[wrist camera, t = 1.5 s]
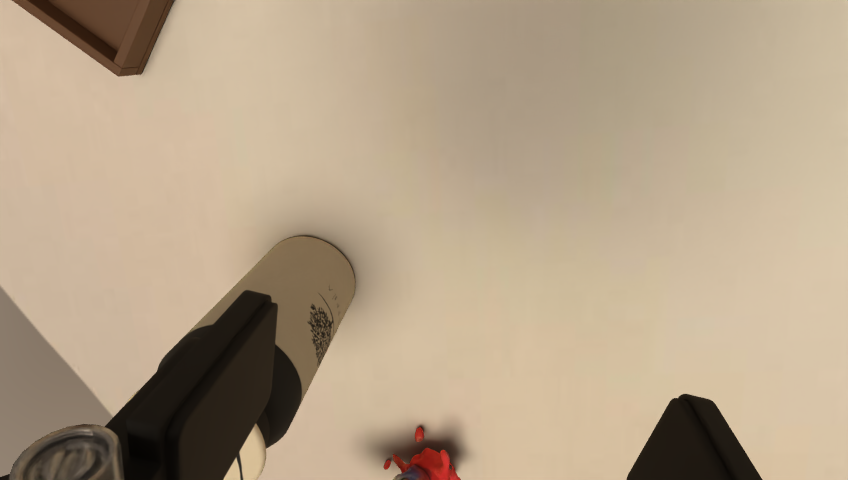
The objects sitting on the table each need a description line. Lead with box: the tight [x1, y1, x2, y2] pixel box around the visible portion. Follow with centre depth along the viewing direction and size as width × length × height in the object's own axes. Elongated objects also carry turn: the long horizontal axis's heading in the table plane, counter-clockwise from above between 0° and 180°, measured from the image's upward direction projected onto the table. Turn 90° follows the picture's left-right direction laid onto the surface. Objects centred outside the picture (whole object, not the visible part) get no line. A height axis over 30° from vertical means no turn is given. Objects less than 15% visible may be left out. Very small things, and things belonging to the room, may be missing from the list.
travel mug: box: [126, 236, 355, 480], centre depth 31 cm, size 8×8×18 cm
